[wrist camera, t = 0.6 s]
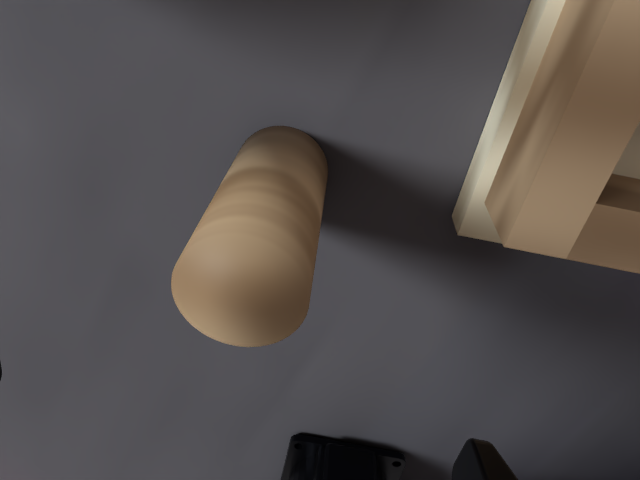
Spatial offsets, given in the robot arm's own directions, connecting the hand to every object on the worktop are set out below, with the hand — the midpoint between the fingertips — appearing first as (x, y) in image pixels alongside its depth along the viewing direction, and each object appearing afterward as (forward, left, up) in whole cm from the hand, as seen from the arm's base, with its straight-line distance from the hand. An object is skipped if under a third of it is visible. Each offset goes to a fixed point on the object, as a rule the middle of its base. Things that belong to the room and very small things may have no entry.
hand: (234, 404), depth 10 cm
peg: (-1, +1, -12) cm, 12 cm away
